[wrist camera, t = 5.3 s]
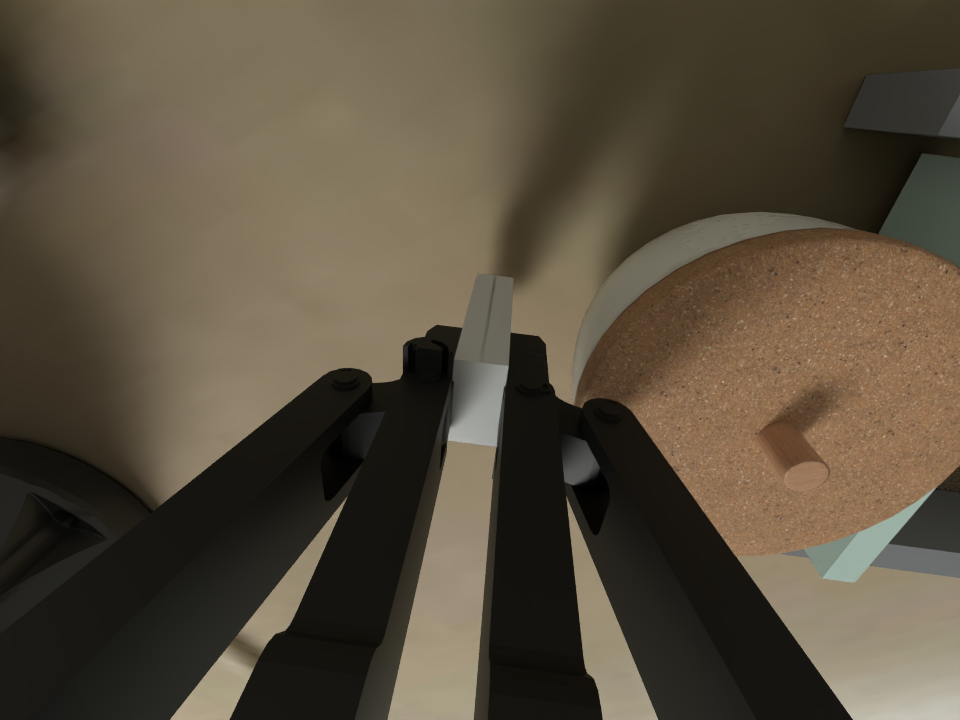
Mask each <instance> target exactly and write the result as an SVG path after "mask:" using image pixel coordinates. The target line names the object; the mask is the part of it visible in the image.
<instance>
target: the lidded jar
mask: <svg viewBox="0 0 960 720" xmlns="http://www.w3.org/2000/svg"><path fill="white" fill-rule="evenodd" d="M572 397H573V405H574V406H577V407H580V408H582V407H583V405H584V403H585V402H586V401H588V400H590V399H595V398H605V399H611V400H614V401H617V402H619V403H621V404H623V405H624V406H626V407H627V408H628V409H629V410H630V411H632V412H633V414H634V415H635V417H636V418H637V419H638V421H639V422H640V424H641V425H642V426H643V428H644V429H645V430H646V432H647V433H648V435H649V436H650V437H651V439H652V440H653V442H654V443H655V444H656V446H657V447H658V449H659V450H660V451H661V453H662V454H663V456H664V457H665V458H666V460H667V461H668V463H669V464H670V465H671V467H672V468H673V470H674V471H675V472H676V474H677V475H678V477H679V478H680V479H681V481H682V482H683V483H684V485H685V486H686V488H687V489H688V490H689V492H690V493H691V495H692V496H693V497H694V499H695V500H696V502H697V503H698V504H699V506H700V507H701V509H702V510H703V511H704V513H705V514H706V516H707V517H708V518H709V520H710V521H711V523H712V524H713V525H714V527H715V528H716V530H717V531H718V532H719V534H720V535H721V536H722V538H723V539H724V541H725V542H726V543H727V545H728V546H729V548H730V549H731V550H732V552H733V553H734V555H735V556H757V555H769V554H781V553H786V552H791V551H796V550H801V549H807V548H811V547H815V546H818V545H822V544H826V543H830V542H833V541H837V540H839V539H842V538H845V537H847V536H850V535H852V534H855V533H858V532H860V531H863V530H865V529H867V528H869V527H872V526H874V525H876V524H878V523H880V522H882V521H884V520H886V519H889V518H891V517H892V516H894V515H896V514H897V513H899V512H901V511H902V510H904V509H905V508H907V507H909V506H910V505H912V504H913V503H915V502H917V501H918V500H919V499H921V498H922V497H923V496H925V495H926V494H928V493H929V492H930V491H932V490H933V489H934V488H936V487H937V486H938V485H940V484H941V483H942V482H943V481H944V480H945V479H946V478H947V477H948V476H949V475H950V474H951V473H952V472H953V471H954V470H955V469H956V468H957V467H959V466H960V267H958V266H957V265H956V264H954V263H953V262H952V261H950V260H947V259H945V258H943V257H941V256H939V255H936V254H934V253H932V252H930V251H928V250H925V249H923V248H921V247H919V246H916V245H914V244H911V243H909V242H906V241H903V240H900V239H896V238H891V237H887V236H883V235H879V234H875V233H870V232H866V231H862V230H857V229H854V228H851V227H848V226H844V225H841V224H838V223H834V222H829V221H825V220H821V219H817V218H813V217H808V216H801V215H795V214H785V213H771V212H747V213H736V214H724V215H718V216H714V217H709V218H705V219H701V220H697V221H693V222H691V223H688V224H686V225H683V226H680V227H678V228H675V229H673V230H670V231H668V232H667V233H665V234H663V235H661V236H659V237H657V238H656V239H654V240H652V241H650V242H648V243H647V244H645V245H644V246H643V247H641V248H640V249H639V250H637V251H636V252H635V253H633V254H632V255H631V256H629V257H628V258H627V259H626V260H625V261H624V262H623V263H622V264H621V265H620V266H619V267H617V268H616V269H615V270H614V271H613V272H612V273H611V274H610V276H609V277H608V278H607V279H606V281H605V282H604V283H603V285H602V286H601V287H600V289H599V290H598V291H597V292H596V294H595V296H594V298H593V300H592V301H591V303H590V305H589V307H588V309H587V310H586V313H585V316H584V318H583V321H582V324H581V327H580V330H579V333H578V336H577V340H576V345H575V351H574V357H573V366H572Z"/></svg>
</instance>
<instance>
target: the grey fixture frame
mask: <svg viewBox="0 0 960 720" xmlns="http://www.w3.org/2000/svg"><path fill="white" fill-rule="evenodd" d="M843 127H847V128H856V129H865V130H874V131H883V132H892V133H901V134H910V135H919V136H928V137H937V138H946V139H955V140H960V68H953V69H939V70H925V71H912V72H898V73H884V74H870V75H867V76H866V78H865V80H864V82H863V84H862V87H861V89H860V91H859V93H858V95H857V98H856V100H855V102H854V104H853V106H852V109H851V111H850V113H849V115H848V118H847V120H846V122H845V124H844V126H843ZM781 554H785V555H793V556H800V557H808V555H807V554H806V552H805V550H804V549H801V550H796V551H791V552H786V553H781ZM808 558H809V557H808ZM869 566H875V567H883V568H890V569H897V570H905V571H912V572H920V573H927V574H935V575H942V576H950V577H957V578H960V492H952V491H944V490H937V489H935V490H934V491H933V492H932V493H931V494H930V495H929V497H928V498H927V499H926V500H925V501H924V502H923V504H922V505H921V506H920V507H919V508H918V509H917V511H916V512H915V513H914V514H913V515H912V516H911V518H910V519H909V520H908V521H907V522H906V523H905V525H904V526H903V527H902V528H901V529H900V530H899V532H898V533H897V534H896V535H895V536H894V537H893V539H892V540H891V541H890V542H889V543H888V544H887V545H886V547H885V548H884V549H883V550H882V551H881V552H880V554H879V555H878V556H877V557H876V558H875V559H874V561H873V562H872V563H871V564H870V565H869Z"/></svg>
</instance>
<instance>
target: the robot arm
mask: <svg viewBox="0 0 960 720" xmlns="http://www.w3.org/2000/svg"><path fill="white" fill-rule="evenodd" d="M513 281H514V278H512V277H504V276H495V275H487V274H478V273H477V276H476V280H475V284H474V287H473V291H472V295H471V298H470V302H469V306H468V310H467V313H466V317H465V321H464V324H463V328H458V327H450V326H442V325H436V326H434V327H433V328H431V329H430V330H428V331H427V333H426V336H425V337H420V338H414V339H412V340H410V341H407V342H406V343H405V344H404V345H403V374H402V376H401V378H400V379H399V380H395V381H392V382H384V383H372V377H371V376H370V375H369V374H368V373H367V372H365V371H362V370H360V369H354V368H341V369H337V370H333V371H330V372H329V373H327V374H325V375H323V376H322V377H321V378H320V379H318V380H317V381H316V382H315V383H313V384H312V385H311V386H310V387H308V388H307V389H306V390H305V391H303V392H302V393H301V394H300V395H298V396H297V397H296V398H295V399H293V400H292V401H291V402H290V403H288V404H287V405H286V406H285V407H283V408H282V409H281V410H280V411H278V412H277V413H276V414H275V415H273V416H272V417H271V418H270V419H268V420H267V421H266V422H264V423H263V424H262V425H261V426H259V427H258V428H257V429H256V430H254V431H253V432H252V433H251V434H249V435H248V436H247V437H246V438H244V439H243V440H242V441H241V442H239V443H238V444H237V445H236V446H234V447H233V448H232V449H231V450H229V451H228V452H227V453H226V454H224V455H223V456H222V457H221V458H219V459H218V460H217V461H216V462H214V463H213V464H212V465H211V466H209V467H208V468H207V469H206V470H204V471H203V472H202V473H201V474H199V475H198V476H197V477H196V478H194V479H193V480H192V481H191V482H189V483H188V484H187V485H186V486H184V487H183V488H182V489H181V490H179V491H178V492H177V493H176V494H174V495H173V496H172V497H171V498H169V499H168V500H167V501H166V502H164V503H163V504H162V505H161V506H159V507H158V508H157V509H156V510H154V511H153V512H152V513H150V512H149V511H148V510H147V509H146V508H145V507H144V506H143V505H142V504H141V503H140V502H139V501H138V500H137V499H136V498H135V497H134V496H132V495H131V494H130V493H129V492H128V491H126V490H125V489H124V488H122V487H121V486H120V485H118V484H117V483H116V482H114V481H113V480H111V479H110V478H108V477H107V476H105V475H103V474H102V473H100V472H98V471H97V470H95V469H93V468H91V467H89V466H88V465H86V464H84V463H82V462H80V461H77V460H75V459H73V458H71V457H69V456H66V455H64V454H61V453H59V452H56V451H53V450H50V449H48V448H44V447H41V446H38V445H34V444H30V443H26V442H22V441H17V440H10V439H2V438H0V720H170V719H171V717H172V716H173V715H174V714H175V712H176V711H177V710H178V709H179V707H180V706H181V705H182V704H183V702H184V701H185V700H186V699H187V697H188V696H189V695H190V694H191V692H192V691H193V690H194V689H195V687H196V686H197V685H198V683H199V682H200V681H201V680H202V678H203V677H204V676H205V675H206V673H207V672H208V671H209V670H210V668H211V667H212V666H213V665H214V663H215V662H216V661H217V660H218V658H219V657H220V656H221V655H222V653H223V652H224V651H225V650H226V648H227V647H228V646H229V645H230V643H231V642H232V641H233V639H234V638H235V637H236V636H237V634H238V633H239V632H240V631H241V629H242V628H243V627H244V626H245V624H246V623H247V622H248V621H249V619H250V618H251V617H252V616H253V614H254V613H255V612H256V611H257V609H258V608H259V607H260V606H261V604H262V603H263V602H264V600H265V599H266V598H267V597H268V595H269V594H270V593H271V592H272V590H273V589H274V588H275V587H276V585H277V584H278V583H279V582H280V580H281V579H282V578H283V577H284V575H285V574H286V573H287V572H288V570H289V569H290V568H291V567H292V565H293V564H294V563H295V562H296V560H297V559H298V558H299V556H300V555H301V554H302V553H303V551H304V550H305V549H306V548H307V546H308V545H309V544H310V543H311V541H312V540H313V539H314V538H315V536H316V535H317V534H318V533H319V531H320V530H321V529H322V528H323V526H324V525H325V524H326V523H327V521H328V520H329V519H330V518H331V516H332V515H333V514H334V512H335V511H336V510H337V509H338V507H339V506H340V505H341V504H342V502H343V501H344V500H345V499H346V497H347V496H348V497H347V500H346V502H345V504H344V506H343V509H342V511H341V513H340V515H339V518H338V520H337V522H336V524H335V527H334V529H333V531H332V533H331V536H330V538H329V540H328V542H327V544H326V547H325V549H324V551H323V553H322V556H321V558H320V560H319V562H318V565H317V567H316V569H315V571H314V574H313V576H312V578H311V580H310V583H309V585H308V587H307V589H306V592H305V594H304V596H303V598H302V601H301V603H300V605H299V607H298V610H297V612H296V614H295V616H294V618H293V620H292V622H291V624H290V626H289V627H288V628H287V629H286V631H283V632H280V633H277V634H275V635H274V636H273V637H272V639H271V640H270V641H269V642H268V643H267V645H266V647H265V648H264V650H263V652H262V654H261V656H260V657H259V659H258V661H257V663H256V665H255V667H254V670H253V672H252V674H251V676H250V678H249V680H248V682H247V684H246V686H245V689H244V691H243V693H242V695H241V697H240V699H239V701H238V703H237V705H236V707H235V710H234V712H233V714H232V716H231V718H230V720H387V719H388V714H389V709H390V705H391V700H392V696H393V691H394V687H395V682H396V678H397V673H398V669H399V664H400V660H401V655H402V651H403V646H404V642H405V637H406V633H407V628H408V624H409V619H410V615H411V610H412V606H413V601H414V597H415V592H416V588H417V583H418V579H419V574H420V570H421V565H422V561H423V556H424V552H425V547H426V543H427V538H428V534H429V529H430V525H431V520H432V516H433V511H434V507H435V502H436V498H437V493H438V489H439V484H440V480H441V475H442V471H443V466H444V462H445V457H446V452H447V439H448V440H449V441H456V442H464V443H471V444H479V445H487V446H495V447H497V448H496V454H495V461H494V468H493V475H492V479H493V488H492V500H491V513H490V525H489V538H488V550H487V563H486V575H485V587H484V600H483V612H482V625H481V637H480V650H479V662H478V674H477V687H476V699H475V712H474V720H603V719H602V711H601V705H600V699H599V694H598V689H597V686H596V684H595V681H594V679H593V678H592V677H591V676H590V675H589V674H587V672H586V669H585V665H584V658H583V650H582V640H581V631H580V622H579V612H578V603H577V593H576V584H575V575H574V565H573V556H572V546H571V537H570V528H569V518H568V509H567V499H566V496H567V498H568V501H569V503H570V506H571V508H572V510H573V513H574V515H575V518H576V520H577V523H578V525H579V528H580V530H581V532H582V535H583V537H584V540H585V542H586V545H587V547H588V549H589V552H590V554H591V557H592V559H593V562H594V564H595V566H596V569H597V571H598V574H599V576H600V579H601V581H602V584H603V586H604V588H605V591H606V593H607V596H608V598H609V601H610V603H611V605H612V608H613V610H614V613H615V615H616V618H617V620H618V622H619V625H620V627H621V630H622V632H623V635H624V637H625V640H626V642H627V644H628V647H629V649H630V652H631V654H632V657H633V659H634V661H635V664H636V666H637V669H638V671H639V674H640V676H641V678H642V681H643V683H644V686H645V688H646V691H647V693H648V696H649V698H650V700H651V703H652V705H653V708H654V710H655V713H656V715H657V717H658V720H853V719H852V718H851V716H850V715H849V714H848V712H847V711H846V709H845V708H844V707H843V705H842V704H841V702H840V701H839V700H838V698H837V697H836V695H835V694H834V693H833V691H832V690H831V689H830V687H829V686H828V684H827V683H826V682H825V680H824V679H823V677H822V676H821V675H820V673H819V672H818V670H817V669H816V668H815V666H814V665H813V663H812V662H811V661H810V659H809V658H808V656H807V655H806V654H805V652H804V651H803V649H802V648H801V647H800V645H799V644H798V642H797V641H796V640H795V638H794V637H793V636H792V634H791V633H790V631H789V630H788V629H787V627H786V626H785V624H784V623H783V622H782V620H781V619H780V617H779V616H778V615H777V613H776V612H775V610H774V609H773V608H772V606H771V605H770V603H769V602H768V601H767V599H766V598H765V596H764V595H763V594H762V592H761V591H760V589H759V588H758V587H757V585H756V584H755V583H754V581H753V580H752V578H751V577H750V576H749V574H748V573H747V571H746V570H745V569H744V567H743V566H742V564H741V563H740V562H739V560H738V559H737V557H736V556H735V555H734V553H733V552H732V550H731V549H730V548H729V546H728V545H727V543H726V542H725V541H724V539H723V538H722V536H721V535H720V534H719V532H718V531H717V530H716V528H715V527H714V525H713V524H712V523H711V521H710V520H709V518H708V517H707V516H706V514H705V513H704V511H703V510H702V509H701V507H700V506H699V504H698V503H697V502H696V500H695V499H694V497H693V496H692V495H691V493H690V492H689V490H688V489H687V488H686V486H685V485H684V483H683V482H682V481H681V479H680V478H679V477H678V475H677V474H676V472H675V471H674V470H673V468H672V467H671V465H670V464H669V463H668V461H667V460H666V458H665V457H664V456H663V454H662V453H661V451H660V450H659V449H658V447H657V446H656V444H655V443H654V442H653V440H652V439H651V437H650V436H649V435H648V433H647V432H646V430H645V429H644V428H643V426H642V425H641V424H640V422H639V421H638V419H637V418H636V417H635V415H634V414H633V412H632V411H630V410H629V409H628V408H627V407H626V406H624V405H623V404H621V403H619V402H617V401H614V400H611V399H605V398H595V399H590V400H588V401H586V402H585V403H584V405H583V407H582V408H580V407H577V406H574V405H571V404H569V403H566V402H564V401H562V400H561V399H559V398H558V397H556V396H555V390H554V388H553V386H552V385H551V384H550V383H549V376H548V365H547V354H546V344H545V343H544V342H543V341H542V339H541V338H540V337H539V336H533V335H525V334H517V333H511V316H512V299H513ZM448 434H449V436H448Z"/></svg>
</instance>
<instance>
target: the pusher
mask: <svg viewBox="0 0 960 720" xmlns="http://www.w3.org/2000/svg"><path fill="white" fill-rule="evenodd" d="M878 234H879V235H883V236H887V237H891V238H896V239H900V240H903V241H906V242H909V243H911V244H914V245H916V246H919V247H921V248H923V249H925V250H928V251H930V252H932V253H934V254H936V255H939V256H941V257H943V258H945V259H947V260H950V261H952V262H953V263H954V264H956V265H957V266H958V267H960V158H959V157H950V156H941V155H932V154H923V153H922V155H921V156H920V158H919V160H918V162H917V164H916V166H915V167H914V169H913V171H912V173H911V175H910V176H909V178H908V180H907V182H906V184H905V186H904V187H903V189H902V191H901V193H900V195H899V197H898V198H897V200H896V202H895V204H894V206H893V208H892V209H891V211H890V213H889V215H888V217H887V219H886V220H885V222H884V224H883V226H882V228H881V230H880V231H879V233H878ZM934 490H935V488H934V489H933V490H932V491H930V492H929V493H928V494H926V495H925V496H923V497H922V498H921V499H919V500H918V501H917V502H915V503H913V504H912V505H910V506H909V507H907V508H905V509H904V510H902V511H901V512H899V513H897V514H896V515H894V516H892V517H891V518H889V519H886V520H884V521H882V522H880V523H878V524H876V525H874V526H872V527H869V528H867V529H865V530H863V531H860V532H858V533H855V534H852V535H850V536H847V537H845V538H842V539H839V540H837V541H833V542H830V543H826V544H822V545H818V546H815V547H811V548H807V549H804V550H805V552H806V554H807V555H808V557H809V558H810V560H811V562H812V563H813V565H814V566H815V568H816V570H817V571H818V573H819V574H820V576H821V578H823V579H830V580H838V581H845V582H853V583H855V582H856V580H857V579H858V578H859V577H860V576H861V575H862V573H863V572H864V571H865V570H866V569H867V568H868V566H869V565H870V564H871V563H872V562H873V561H874V559H875V558H876V557H877V556H878V555H879V554H880V552H881V551H882V550H883V549H884V548H885V547H886V545H887V544H888V543H889V542H890V541H891V540H892V539H893V537H894V536H895V535H896V534H897V533H898V532H899V530H900V529H901V528H902V527H903V526H904V525H905V523H906V522H907V521H908V520H909V519H910V518H911V516H912V515H913V514H914V513H915V512H916V511H917V509H918V508H919V507H920V506H921V505H922V504H923V502H924V501H925V500H926V499H927V498H928V497H929V495H930V494H931V493H932V492H933V491H934Z"/></svg>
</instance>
